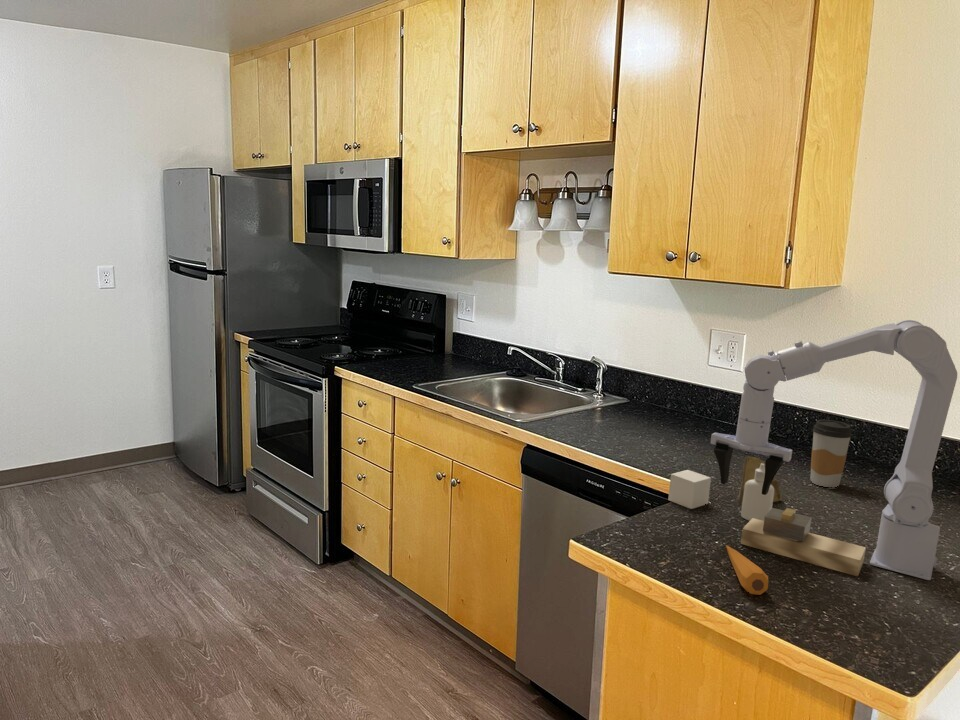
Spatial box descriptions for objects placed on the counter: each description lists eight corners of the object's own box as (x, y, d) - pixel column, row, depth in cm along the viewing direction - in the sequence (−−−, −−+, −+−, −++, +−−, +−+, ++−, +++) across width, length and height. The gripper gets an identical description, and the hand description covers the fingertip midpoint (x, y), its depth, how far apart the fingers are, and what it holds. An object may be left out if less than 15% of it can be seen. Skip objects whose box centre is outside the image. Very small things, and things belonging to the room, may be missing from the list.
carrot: (764, 603, 118) (777, 579, 118) (738, 590, 118) (752, 566, 118) (730, 560, 138) (742, 539, 138) (709, 549, 138) (720, 528, 138)
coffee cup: (848, 485, 177) (857, 424, 175) (836, 493, 171) (846, 430, 169) (812, 476, 183) (821, 417, 180) (800, 483, 177) (808, 422, 174)
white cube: (668, 500, 160) (670, 474, 159) (684, 495, 164) (687, 469, 163) (691, 509, 156) (694, 482, 155) (708, 504, 159) (711, 477, 158)
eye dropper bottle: (755, 514, 155) (762, 459, 153) (773, 524, 150) (781, 468, 147) (737, 515, 153) (744, 460, 151) (755, 526, 148) (762, 469, 146)
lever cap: (809, 531, 138) (812, 512, 137) (802, 541, 133) (805, 521, 132) (770, 521, 142) (773, 502, 141) (762, 531, 137) (765, 511, 136)
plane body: (863, 562, 134) (866, 545, 133) (857, 576, 128) (860, 558, 128) (750, 532, 145) (752, 516, 144) (740, 543, 139) (742, 527, 139)
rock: (779, 484, 168) (734, 474, 169) (793, 463, 161) (747, 452, 163) (780, 525, 161) (733, 514, 162) (794, 505, 154) (746, 493, 155)
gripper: (709, 414, 139) (699, 482, 142) (789, 431, 131) (778, 503, 134) (721, 408, 145) (711, 474, 148) (798, 424, 137) (787, 494, 140)
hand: (744, 487), depth 141 cm, fingers open, 7 cm apart
